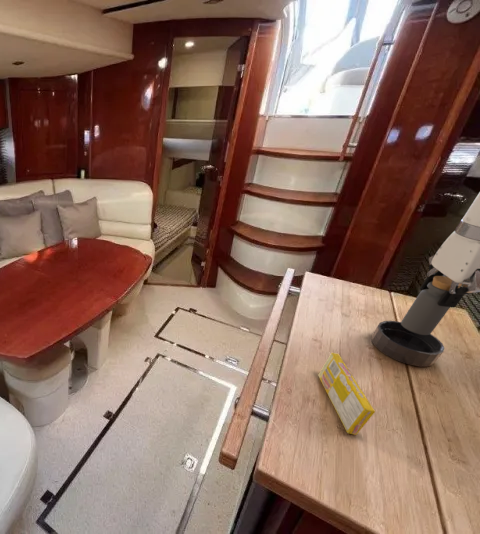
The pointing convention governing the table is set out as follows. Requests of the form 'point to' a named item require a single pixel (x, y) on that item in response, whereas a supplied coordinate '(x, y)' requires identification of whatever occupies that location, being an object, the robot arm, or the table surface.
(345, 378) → the candy box
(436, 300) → the bottle
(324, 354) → the table surface
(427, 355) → the pan
